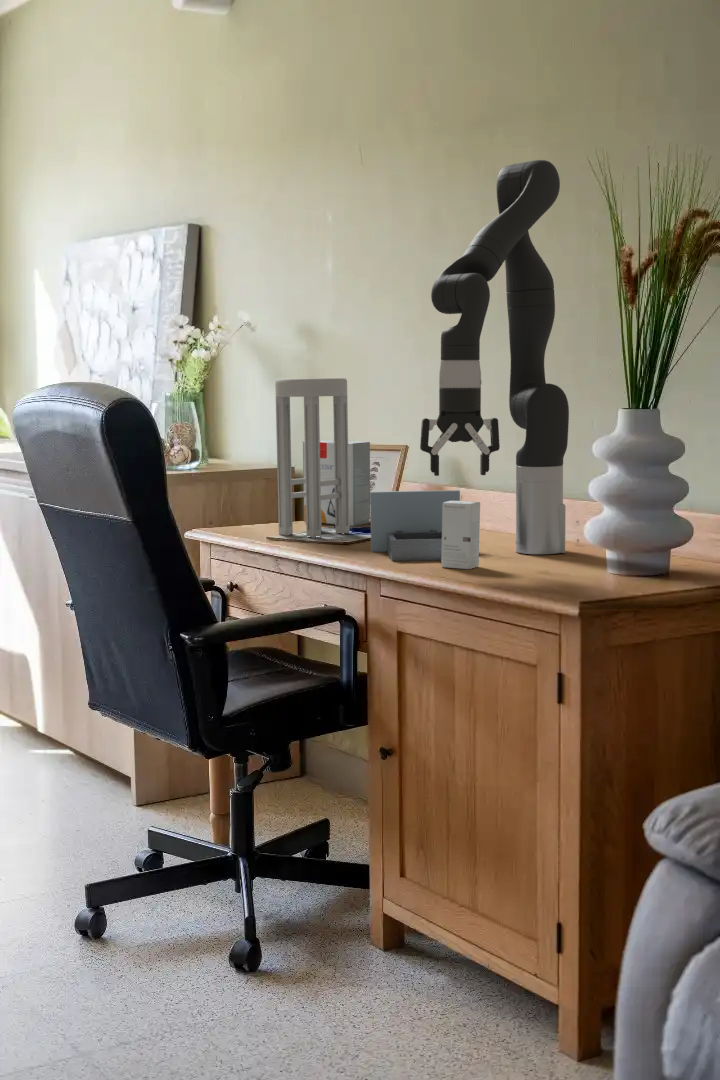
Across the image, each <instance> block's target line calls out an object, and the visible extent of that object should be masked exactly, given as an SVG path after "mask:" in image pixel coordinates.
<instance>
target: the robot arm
mask: <svg viewBox="0 0 720 1080" xmlns="http://www.w3.org/2000/svg"><path fill="white" fill-rule="evenodd" d="M560 179H561V178H560V175H559V173H558V170H557V168H556V166H555V165H554V163H552V162H551V161H549V160H546V159H535V160H530V161H529V160H528V161H524V162H519V163H513V164H509V165H506V166H503V167H502V168H501V169H500V170H499V173H498V175H497V180H496V189H495V190H496V199H497V200H496V202H497V208H498V210H497V211H498V215H497V216H495V218H493V219H492V220H491V221H489V222H488V223H487V224H486V225H484V226H483V227H482V228H481V229H480V230H479V231H478V232H477V233H476V234H475V235H474V237H473V239H472V240H471V241H470V243H469V244H468V246H467V248H466V249H465V251H464V253H463V254H462V255H461V256H460V257H458V258H457V259H456V260H454V261H453V262H452V263H451V264H449V265H448V266H447V267H445V269H444V270H443V271H441V273H440V274H439V275H438V276H437V277H436V279H435V280H434V283H433V285H432V288H431V294H430V297H431V303H432V305H433V307H434V308H435V310H437V312H438V313H439V312H440V314H441V313H442V314H444V315H455V314H461V315H460V317H459V320H458V323H457V324H455V325H453V326H450V327H447V328H445V329H443V331H441V336H440V365H439V367H440V368H439V373H438V374H439V379H438V381H439V382H438V385H439V386H438V387H439V388H438V390H439V391H438V393H439V395H438V397H439V398H438V399H439V400H438V401H439V402H438V409H439V410H438V417H437V419H430V418H426V417H424V418H423V419H422V420H421V427H420V428H421V430H420V442H419V443H420V445H419V447H420V448H419V449H420V451H422V452H425V453H427V454H429V455H430V456H429V458H430V462H429V463H430V469H429V470H430V472H431V473H432V474H433V476H435V477H439V476H440V454H439V452H440V451H441V449H442V448H443V447H444V446H445V444H446V443H447V442H448V441H449V442H451V443H458V442H463V443H469V442H471V441H473V443H474V444H475V445H476V446H477V448H478V450H480V452H481V454H480V461H479V462H480V463H479V464H480V466H479V467H480V469H479V472H480V476H486V473H489V471H490V456H491V454H492V453H495V452H497V451H499V450H500V430H499V429H500V428H499V427H500V426H499V419H498V418H497V417H491V418H485V419H483V417H482V414H481V412H482V411H481V410H482V409H481V407H482V406H481V402H482V395H481V394H482V391H481V390H482V372H481V371H482V370H481V364H480V357H481V356H480V352H481V351H480V350H481V349H480V348H481V347H480V346H481V345H480V344H481V342H480V340H481V335H482V331H483V326H484V322H485V318H486V316H487V311H488V308H489V304H490V297H491V291H490V286H489V283H488V282H490V281H491V280H492V279H494V277H495V276H496V274H497V273H498V272H499V270H500V268H501V267H502V265H503V263H505V264H504V266H505V267H504V268H505V285H506V286H505V287H506V289H505V291H506V304H507V305H506V307H507V308H506V309H507V317H508V319H507V320H508V336H509V337H508V338H509V350H510V351H509V352H510V353H509V355H510V373H509V374H510V375H509V376H510V377H509V395H508V397H509V399H508V402H509V403H508V404H509V405H508V406H509V413H510V417H511V419H512V421H513V422H514V423H515V425H516V426H517V427H519V428H521V429H523V430H525V441H524V443H523V445H522V446H521V448H519V449H518V450H517V452H516V454H515V552H516V553H519V554H524V555H525V554H526V555H527V554H528V555H554V554H561V553H563V554H565V553H566V504H565V503H564V457H565V455H566V452H567V448H568V442H569V423H570V418H569V417H570V410H569V408H570V407H569V401H568V398H567V395H566V393H565V391H564V390H563V389H562V388H561V387H560V386H558V385H556V384H553V383H547V382H546V371H545V356H546V355H545V354H546V349H547V346H548V342H549V340H550V339H549V338H550V336H551V332H552V329H553V325H554V321H555V315H556V300H555V284H554V279H553V276H552V273H551V271H550V269H549V267H548V266H547V263H545V261H544V260H543V258H542V257H541V255H540V254H539V252H538V251H537V249H536V248H535V245H534V244H533V242H532V238H531V236H530V234H529V233H530V232H529V230H530V229H532V227H533V226H534V225H535V223H537V222H538V221H539V220H540V218H542V216H544V214H545V213H546V212H547V211H548V210H549V209H550V208H551V207H552V206H553V205H554V204H555V202H556V200H557V199H558V196H559V194H560V193H559V192H560V187H561V180H560ZM435 426H437V428H438V429H439V431H440V432H441V434H440V435H439V437H438V438H437V439H436V441H435V442H434V444H433V445H432V446H430V445H429V440H430V439H429V438H430V431H433V430H434V427H435ZM484 426H485V428H486V430H488V431H489V432H490V436H489V437H490V445H487V444H486V443H485V442H484V440H483V439H482V437H481V436H480V434H478V433H479V432H480V430H481V428H482V427H484Z"/></svg>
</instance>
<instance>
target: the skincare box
mask: <svg viewBox="0 0 720 1080" xmlns="http://www.w3.org/2000/svg"><path fill="white" fill-rule="evenodd" d="M480 520H481V501H467V500H466V501H465V500H460V501H447V502H444V503H443V504H442V554H441V560H440V561H441V563H440V565H441V568H446V569H447V568H450V569H460V570H461V569H462V570H463V569H464V570H473V569H475V567H476V568H479V566H480V563H479V562H480V528H481V527H480V526H481V521H480ZM472 568H473V569H472Z"/></svg>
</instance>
